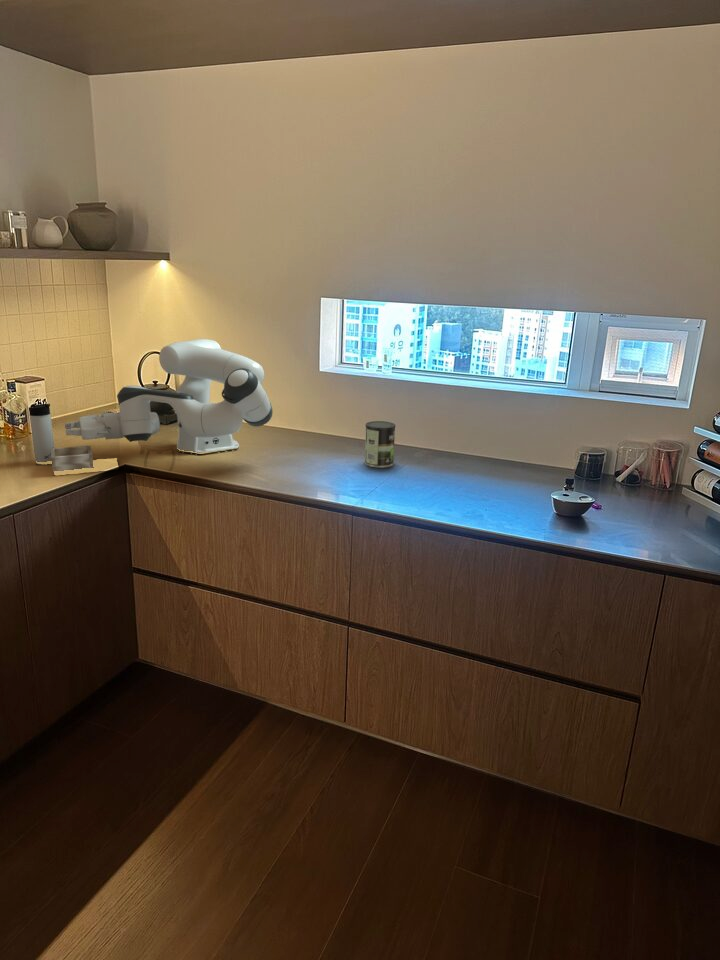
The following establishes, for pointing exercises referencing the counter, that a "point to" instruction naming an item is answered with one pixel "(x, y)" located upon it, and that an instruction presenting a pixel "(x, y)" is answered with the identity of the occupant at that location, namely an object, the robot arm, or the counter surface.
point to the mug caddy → (71, 458)
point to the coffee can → (379, 444)
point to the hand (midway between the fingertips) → (65, 429)
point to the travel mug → (41, 432)
